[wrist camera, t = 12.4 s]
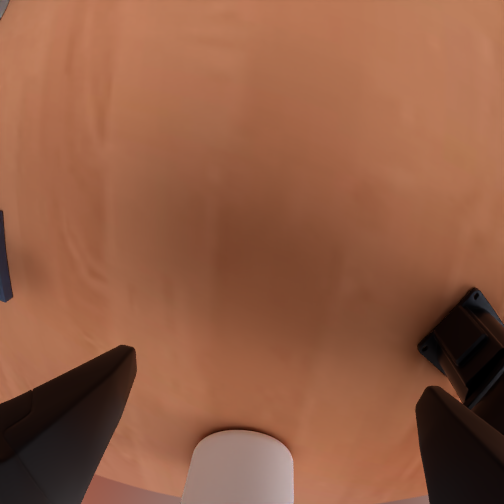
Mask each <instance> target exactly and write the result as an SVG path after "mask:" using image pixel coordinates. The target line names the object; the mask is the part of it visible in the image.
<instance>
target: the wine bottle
mask: <svg viewBox="0 0 504 504" xmlns="http://www.w3.org/2000/svg"><path fill="white" fill-rule="evenodd" d="M180 504H294V482H293V459H292V456H291V453H290V452H289V450H288V449H287V447H286V446H285V445H284V444H282V443H281V442H280V441H278V440H277V439H275V438H273V437H271V436H268V435H266V434H262V433H259V432H254V431H247V430H226V431H221V432H217V433H214V434H211V435H209V436H207V437H205V438H204V439H203V440H201V441H200V442H199V443H198V445H197V446H196V448H195V449H194V452H193V455H192V459H191V463H190V467H189V471H188V475H187V479H186V483H185V487H184V491H183V495H182V499H181V503H180Z"/></svg>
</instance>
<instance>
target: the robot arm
mask: <svg viewBox="0 0 504 504" xmlns="http://www.w3.org/2000/svg"><path fill="white" fill-rule="evenodd" d="M475 294H476V295H475ZM474 295H475V296H474ZM424 346H426V347H425V348H423V347H424ZM418 350H419V352H420V353H421V354H422V355H423V356H424V357H425V358H427V359H428V360H429V361H430V362H431V363H432V364H433V365H434V366H436V367H437V368H438V369H439V370H440V371H441V372H442V373H443V374H444V375H446V376H447V377H448V379H449V380H450V382H451V384H452V386H453V387H454V389H455V391H456V393H457V394H458V396H459V398H460V400H461V401H462V403H463V404H462V403H460V402H459V401H458V400H457V399H455V398H454V397H453V396H451V395H450V394H449V393H447V392H446V391H445V390H443V389H442V388H441V387H439V386H428V387H427V388H426V389H425V390H424V392H423V394H422V396H421V397H420V399H419V401H418V402H417V404H416V409H415V412H416V420H417V428H418V437H419V446H420V452H421V457H422V462H423V468H424V473H425V478H426V484H427V490H428V496H429V502H430V504H504V324H503V323H502V321H501V320H500V318H499V317H498V315H497V314H496V313H495V311H494V310H493V308H492V307H491V305H490V304H489V302H488V301H487V300H486V298H485V297H484V295H483V294H482V293H481V291H480V290H478V289H477V288H473V289H472V290H471V291H470V292H469V293H468V294H467V295H466V296H465V297H464V299H463V300H462V301H461V302H460V303H459V304H458V305H457V306H456V307H455V308H454V309H453V310H452V311H451V312H450V313H449V315H448V316H447V317H446V318H445V319H444V320H443V321H442V322H441V323H440V324H439V325H438V326H437V327H436V328H435V329H434V330H433V331H432V332H431V333H430V334H429V335H427V336H426V337H425V338H424V339H423V340H422V341H421V342H420V343H419V344H418ZM136 372H137V366H136V352H135V349H134V348H133V347H130V346H126V345H119V346H117V347H116V348H114V349H112V350H110V351H108V352H106V353H104V354H102V355H100V356H98V357H96V358H94V359H92V360H90V361H88V362H86V363H84V364H82V365H80V366H78V367H76V368H74V369H72V370H70V371H68V372H66V373H64V374H62V375H60V376H58V377H56V378H54V379H52V380H50V381H48V382H46V383H44V384H42V385H40V386H38V387H36V388H34V389H33V391H32V390H30V391H28V392H26V393H24V394H22V395H20V396H18V397H15V398H13V399H11V400H9V401H6V402H4V403H1V404H0V504H81V502H82V500H83V498H84V495H85V493H86V491H87V489H88V486H89V484H90V482H91V480H92V478H93V476H94V473H95V471H96V469H97V467H98V465H99V463H100V461H101V458H102V456H103V454H104V452H105V450H106V448H107V446H108V444H109V442H110V439H111V437H112V435H113V433H114V431H115V429H116V427H117V425H118V423H119V421H120V419H121V416H122V414H123V411H124V408H125V405H126V402H127V399H128V396H129V393H130V390H131V388H132V385H133V382H134V379H135V376H136Z"/></svg>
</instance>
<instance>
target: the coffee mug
mask: <svg viewBox="0 0 504 504" xmlns="http://www.w3.org/2000/svg"><path fill="white" fill-rule="evenodd" d="M8 2H9V0H0V18H1V17H2V15H3V13H4V11H5V9H6V7H7V5H8Z"/></svg>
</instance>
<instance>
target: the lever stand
mask: <svg viewBox="0 0 504 504" xmlns="http://www.w3.org/2000/svg"><path fill="white" fill-rule="evenodd" d="M12 297H13V295H12V289H11V284H10V277H9V271H8V264H7V256H6V248H5V238H4V226H3V212H2V211H0V301H3V302H7V301H8V300H10V299H11V298H12Z"/></svg>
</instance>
